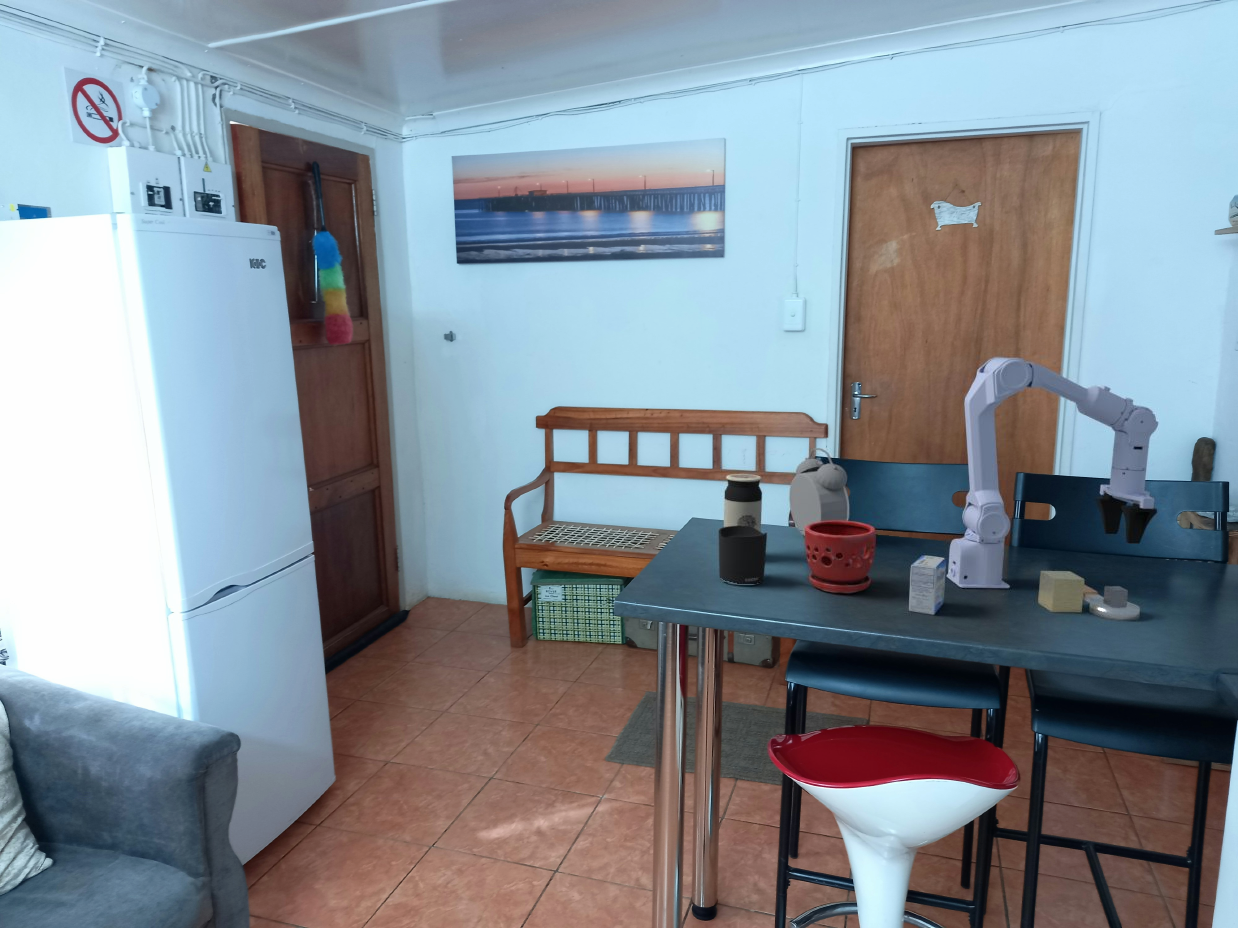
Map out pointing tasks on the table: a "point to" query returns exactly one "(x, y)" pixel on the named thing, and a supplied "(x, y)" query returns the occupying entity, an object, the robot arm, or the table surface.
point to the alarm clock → (818, 493)
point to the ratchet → (1111, 604)
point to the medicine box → (927, 584)
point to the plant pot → (840, 555)
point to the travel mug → (743, 501)
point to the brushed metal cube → (1061, 591)
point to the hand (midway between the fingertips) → (1121, 538)
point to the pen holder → (742, 554)
